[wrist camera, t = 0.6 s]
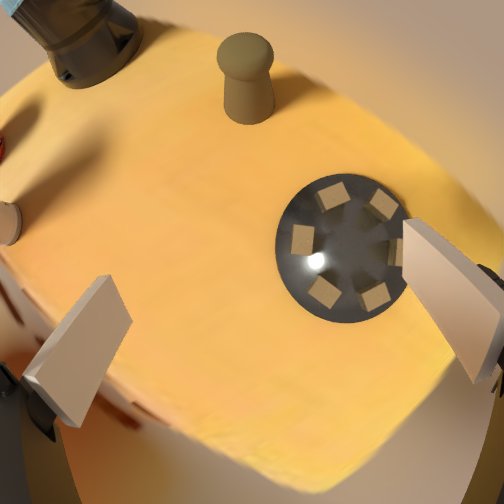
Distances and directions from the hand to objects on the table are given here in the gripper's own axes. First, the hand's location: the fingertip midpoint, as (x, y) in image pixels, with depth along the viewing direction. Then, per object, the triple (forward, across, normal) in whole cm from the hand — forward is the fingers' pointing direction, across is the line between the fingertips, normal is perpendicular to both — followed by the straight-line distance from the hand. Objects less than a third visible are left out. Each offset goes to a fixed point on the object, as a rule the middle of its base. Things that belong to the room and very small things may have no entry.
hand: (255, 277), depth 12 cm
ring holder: (+18, +8, -9) cm, 21 cm away
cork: (+26, +1, +8) cm, 27 cm away
